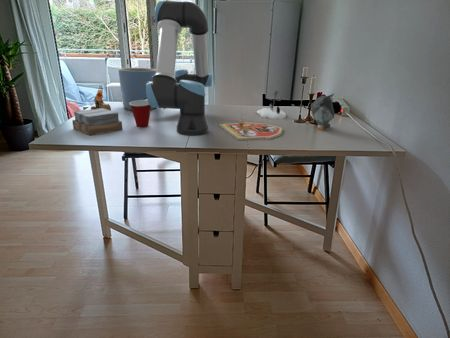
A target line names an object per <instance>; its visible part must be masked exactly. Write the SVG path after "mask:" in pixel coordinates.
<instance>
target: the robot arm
mask: <svg viewBox="0 0 450 338" xmlns="http://www.w3.org/2000/svg"><path fill="white" fill-rule="evenodd" d="M154 22H155V25H156V27H157V29H158V30H159V40H158V48H157V57H156V65H155V66H156V68H155V69H156V74H155V75H154V76H152V81H151V82H147V84H146V94H147V98H145V100H148V102H149V104H150V106H151V107H154V109H157V108H158V109H163V110H166V109H169V110H170V109H174V110H175V109H176V110H179V117H178V122H177V125H176V132H177V133H178V134H180V135H185V136H201V135H205V134H208V132H209V126H208V123H207V119H206V110H205V109H206V107H205V106H206V103H205V102H206V88H210V87H212V85H213V75H212V73H209V59H208V58H209V57H208V56H209V55H208V38H207V34H208V32H209V23H208V19H207V16H206V14H205V13H204V11H203V9H202V8H201V7H200V6H199V5H198V4H197V3H195V2H194V1H191V0H159V1H157V2H156V5H155V7H154ZM183 28H184V29H186V28H187V29H189V33H190V34H191V38H192V49H193V50H192V52H193V61H194V71H195V72H188V71H189V70H188V69H186V68H176V63H177V62H176V61H177V52H178V51H177V50H178V39H179V35H180V34H181V33H182V31H183Z"/></svg>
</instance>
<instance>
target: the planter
mask: <svg viewBox="0 0 450 338" xmlns="http://www.w3.org/2000/svg"><path fill="white" fill-rule="evenodd" d="M117 70H118V77H119V85H120V92H121V98H122V99H121V101H122V105H123V107H124V108H126V109H127V110H128V111H129V110H132V108H131V106H130V104H129V103H130V102H132V101H137V100H145V98H147V94H146V84H147V82H151V81H152V76H154V75H155V74H156V68H145V67H122V68H121V67H120V68H118V69H117ZM154 109H155V108H154V107H151V108H150V110H154Z"/></svg>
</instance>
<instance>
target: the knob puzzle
mask: <svg viewBox="0 0 450 338" xmlns="http://www.w3.org/2000/svg"><path fill="white" fill-rule="evenodd" d="M218 126H219V127H220V128H221V129H222V130H223V131H225V132H226V134H229V135H230V136H232V137H233V138H235V140H237V141H248V140H249V141H250V140H272V139H275V138H277V137H280V136H281V135H282V134H283V127H280V126H277V125H272V124H268V123H261V122H259V123H258V122H249V121H248V122H247V121H244V120H239V121H238V122H235V123H233V122H232V123H231V122H230V123H219V125H218Z"/></svg>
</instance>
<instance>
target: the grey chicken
mask: <svg viewBox="0 0 450 338" xmlns="http://www.w3.org/2000/svg"><path fill="white" fill-rule="evenodd" d="M334 95H335V93H332V94H330V95H321V96H318V97H317V98H316V99H315V100H314V101H313V102H311V104H310V110H311V114H312V119H314V121H315V122H316V123H314V125H315V126H317V129H316V130H318V131H324V130H325V129H327V128H329V127H330V125H331V123H329V122H331V121H332V120H333V119H334V118H335V109H334V103H333V101H332V99H331V98H332V97H333V96H334Z"/></svg>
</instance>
